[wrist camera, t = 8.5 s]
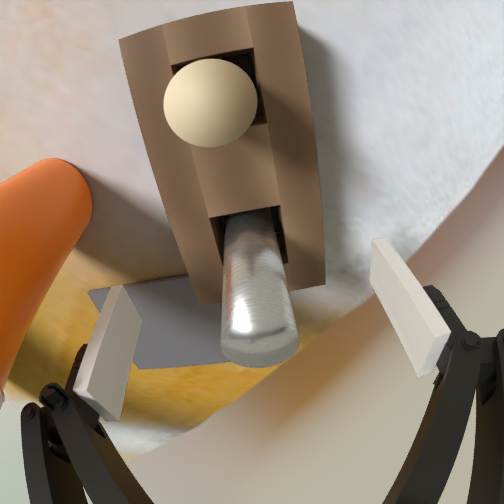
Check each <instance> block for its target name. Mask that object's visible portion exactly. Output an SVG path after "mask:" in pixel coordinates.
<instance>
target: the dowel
mask: <svg viewBox="0 0 504 504" xmlns="http://www.w3.org/2000/svg"><path fill="white" fill-rule="evenodd" d="M163 104H164V113H165V117H166V120H167V122H168V124H169V126H170V127H171V129H172V130H173V131H174V132H175V134H176V135H178V136H179V137H180V138H181V139H183V140H184V141H186V142H188V143H190V144H193V145H196V146H200V147H219V146H223V145H226V144H228V143H231V142H233V141H234V140H236V139H238V138H239V137H240V136H242V135H243V134H244V133H245V132H246V130H247V129H248V128H249V127H250V125H251V124H252V122H253V120H254V117H255V114H256V110H257V93H256V89H255V87H254V84H253V82H252V81H251V79H250V77H249V76H248V75H247V74H246V73H245V72H244V71H243V70H242V69H241V68H239V67H238V66H236V65H235V64H233V63H230V62H228V61H225V60H220V59H204V60H199V61H196V62H193V63H191V64H188V65H187V66H185V67H183V68H182V69H181V70H180V71H178V72H177V73H176V74H175V76H174V77H173V78H172V79H171V81H170V83H169V84H168V86H167V89H166V91H165V95H164V103H163Z"/></svg>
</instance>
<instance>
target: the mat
mask: <svg viewBox="0 0 504 504" xmlns="http://www.w3.org/2000/svg"><path fill="white" fill-rule="evenodd" d="M123 286H124V288H125V290H126V291H127V293H128V295H129V297H130V299H131V301H132V303H133V304H134V306H135V308H136V310H137V312H138V313H139V315H140V317H141V319H142V324H141V328H140V332H139V336H138V340H137V344H136V348H135V352H134V356H133V360H132V361H133V362H134V363H135V365H136V366H137V368H138V369H156V368H172V367H185V366H196V365H206V364H216V363H224V362H231V361H230V360H229V359H227V358H226V357H225V355H224V354H223V352H222V350H221V321H222V306H221V303H214V304H207V305H200V304H199V302H198V299H197V297H196V294H195V291H194V289H193V286H192V284H191V281H190V278H189V276H188V275H182V276H176V277H170V278H164V279H158V280H152V281H145V282H139V283H133V284H127V285H123ZM110 288H111V287H108V288H102V289H95V290H89V292H88V294H89V296H90V298H91V299H92V301H93V303H94V304H95V306H96V308H97V309H98V311H99V312H101V310H102V307H103V305H104V302H105V300H106V298H107V295H108V293H109V291H110Z"/></svg>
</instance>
